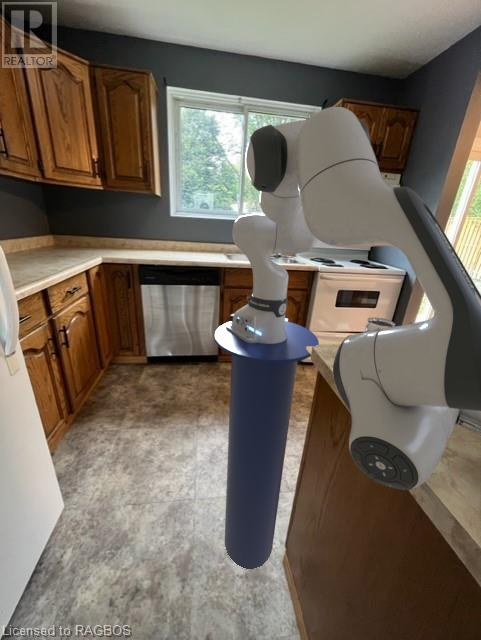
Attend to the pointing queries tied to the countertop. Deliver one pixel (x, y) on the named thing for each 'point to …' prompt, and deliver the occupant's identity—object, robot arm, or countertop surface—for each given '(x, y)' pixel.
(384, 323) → the wineglass
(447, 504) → the countertop surface
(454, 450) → the countertop surface
